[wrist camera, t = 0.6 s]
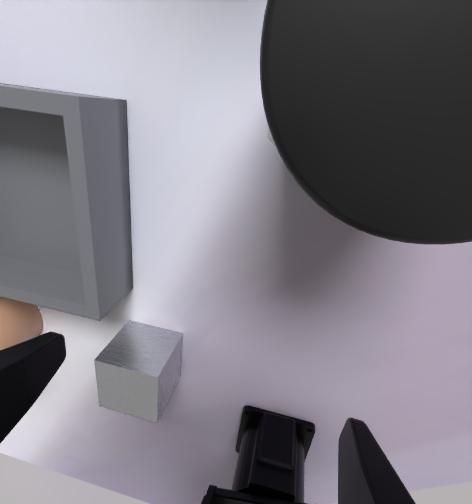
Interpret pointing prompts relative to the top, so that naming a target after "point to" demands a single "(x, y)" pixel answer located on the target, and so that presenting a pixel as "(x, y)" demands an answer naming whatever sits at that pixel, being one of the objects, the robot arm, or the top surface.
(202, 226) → the top surface
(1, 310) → the ceramic canister
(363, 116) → the jar
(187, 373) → the top surface
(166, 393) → the steel block
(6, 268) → the tote
